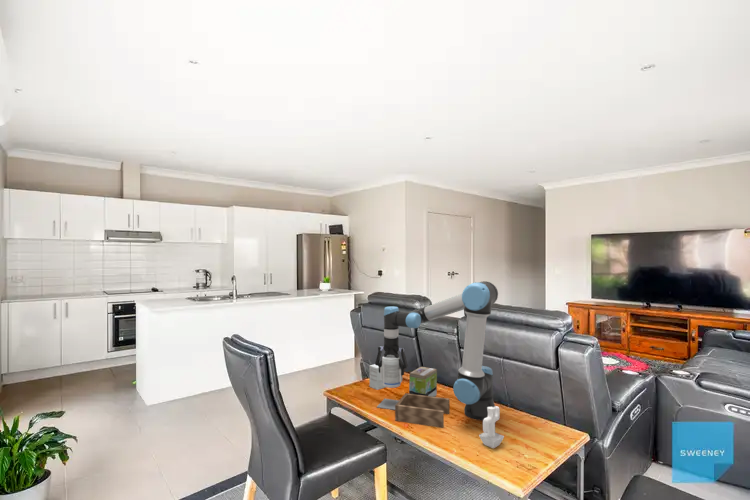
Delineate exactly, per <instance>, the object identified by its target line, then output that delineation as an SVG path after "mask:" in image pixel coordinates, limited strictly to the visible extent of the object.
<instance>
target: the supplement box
mask: <svg viewBox="0 0 750 500" xmlns="http://www.w3.org/2000/svg"><path fill="white" fill-rule="evenodd" d="M368 367H369V368H368V369H369V371H368V372H369V387H370V388H372V389H373V390H377V391H379V390H381V389H384V388H385V389H386V387H384V386H383V385H382V380H380V373H379V366H377V365H375V363H374V364H371V365H368Z"/></svg>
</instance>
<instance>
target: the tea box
mask: <svg viewBox="0 0 750 500" xmlns="http://www.w3.org/2000/svg"><path fill="white" fill-rule="evenodd" d="M437 381H438V369H437V368H432V367H431V368H430V367H428V366H427V367H425V366H420V367H418V368H416V369H414V370H413V371H412V370H411V372H409V385H408V387H409V388H408V390H409V393H408V394H416V395H424V396H432V397H437V393H438V391H437V390H438V388H437V387H438V385H437V384H438V382H437Z"/></svg>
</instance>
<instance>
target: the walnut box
mask: <svg viewBox="0 0 750 500" xmlns="http://www.w3.org/2000/svg"><path fill="white" fill-rule="evenodd" d="M398 400H399V401H398V403H397V404H396V405H395V410H394V415H395V416H394V419H395V421H396V422H403V423H408V424H415V425H423V426H429V427H434V428H435V427H436V428H440V429H443V428H444V426H445V425H444V415H450V412H451V411H450V409H451V407H450V398H447V397H439V396H435V397H432V396H424V395H416V394H409V393H404V394H403V395H402V397H400V399H398Z"/></svg>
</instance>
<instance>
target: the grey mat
mask: <svg viewBox="0 0 750 500" xmlns="http://www.w3.org/2000/svg"><path fill="white" fill-rule="evenodd" d="M399 400H400V399H391V398H384V399H382V400H381V402H380V403H379V404H378V405H377V406H376V408H377V409H384V410H385V409H386V410H389V411H390V410H391V411H395V405H396V404H397V403H398V401H399Z"/></svg>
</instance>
